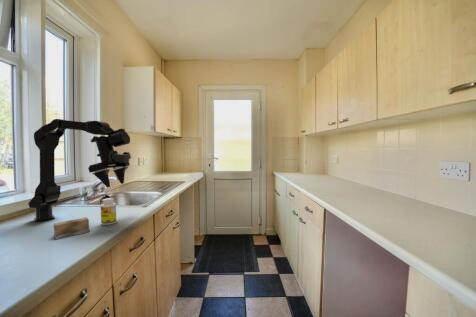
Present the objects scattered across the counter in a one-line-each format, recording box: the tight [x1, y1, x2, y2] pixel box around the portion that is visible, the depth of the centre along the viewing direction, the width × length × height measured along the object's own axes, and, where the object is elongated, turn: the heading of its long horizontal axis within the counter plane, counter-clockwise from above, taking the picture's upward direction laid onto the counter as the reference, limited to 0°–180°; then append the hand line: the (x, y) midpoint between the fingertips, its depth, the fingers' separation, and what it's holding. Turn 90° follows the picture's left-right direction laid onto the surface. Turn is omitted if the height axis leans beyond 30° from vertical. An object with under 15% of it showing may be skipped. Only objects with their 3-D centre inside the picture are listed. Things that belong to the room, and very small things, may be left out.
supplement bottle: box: [100, 197, 117, 226], centre depth 94 cm, size 6×6×10 cm
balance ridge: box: [53, 216, 91, 240], centre depth 83 cm, size 10×6×4 cm, turn 134°
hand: (115, 185), depth 96 cm, fingers open, 9 cm apart
